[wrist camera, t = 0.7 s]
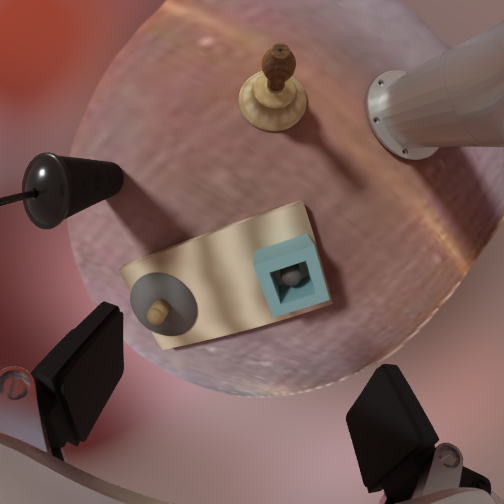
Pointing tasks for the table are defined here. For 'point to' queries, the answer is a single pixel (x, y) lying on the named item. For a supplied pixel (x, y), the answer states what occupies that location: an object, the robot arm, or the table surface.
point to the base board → (215, 280)
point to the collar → (283, 256)
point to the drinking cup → (64, 187)
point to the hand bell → (274, 93)
